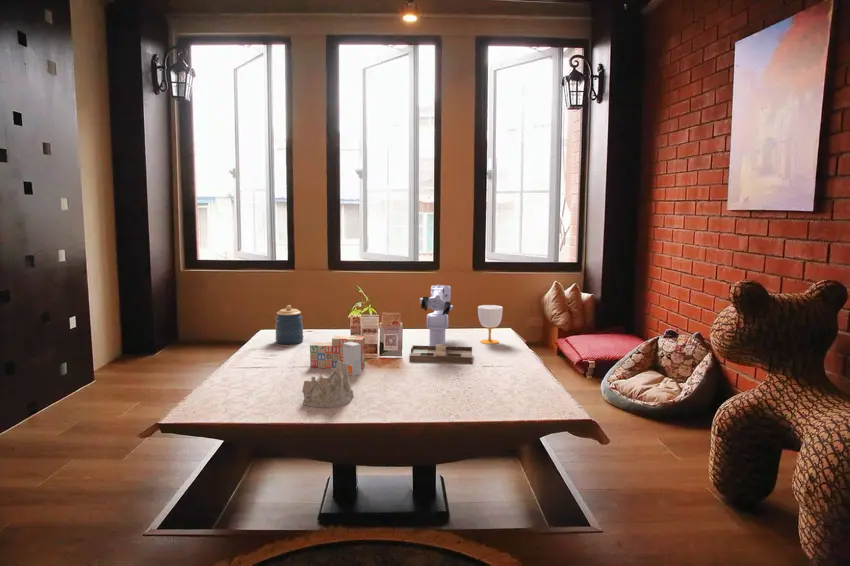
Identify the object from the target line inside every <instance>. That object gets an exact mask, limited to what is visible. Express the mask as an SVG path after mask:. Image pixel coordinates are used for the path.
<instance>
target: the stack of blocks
mask: <svg viewBox="0 0 850 566" xmlns="http://www.w3.org/2000/svg"><path fill="white" fill-rule="evenodd" d="M365 337H366V336H363V335H362V336H358V335H337V334H336V335H334V336H333V337H332V339H331V342H325V341H324V342H323V341H313V342H312V343H311V344H309V355H310V356H309V360H310V365H309V366H310V368H319V369H321V368H324V369H330V368H334V369H335V368H336V364H337V361H341V367H342V363H343V343H347V342H354V343H358V344H361V370H363V368H364V367H365V364H366V361H365V360H366V359H365V357H366V356H365V354H366V353H365V350H366V347H365V345H366V344H365V343H366V341H365V339H366V338H365Z"/></svg>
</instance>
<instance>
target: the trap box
mask: <svg viewBox="0 0 850 566" xmlns="http://www.w3.org/2000/svg"><path fill="white" fill-rule="evenodd" d="M408 357H409V359H408V361H409V362H418V363H419V362H420V363H421V362H422V363H424V362H425V363H454V364H455V363H456V364H457V363H458V364H472V360H473V346H454V345H453V346H448V345H447V346H446V355H445V356H436V346H429V345H414V344H413V345H411V348H410V353H409V356H408Z"/></svg>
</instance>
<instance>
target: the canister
mask: <svg viewBox="0 0 850 566" xmlns="http://www.w3.org/2000/svg"><path fill="white" fill-rule="evenodd" d="M301 313H302V311H300V310H299V308H292V306H291V304H289V305H286V307H285V308H282V309H279V311H277V312H276V314H277V316H275V317H274V319H275V321H276V322H275V324H274V326H275V342H276V343H277V344H279V345H296V344H297V345H298V344H300V343H303V341H304V328H303V327H304V323H303V320H302V319H303V317H304V316H303V315H301Z"/></svg>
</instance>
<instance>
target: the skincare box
mask: <svg viewBox="0 0 850 566" xmlns="http://www.w3.org/2000/svg"><path fill="white" fill-rule="evenodd" d="M343 362H346V363H347V368H348V376H349V375H350V376H353V377H354V376H358V375H361V374H362V369H361V344H358V343H354V342H347V343H343Z"/></svg>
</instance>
